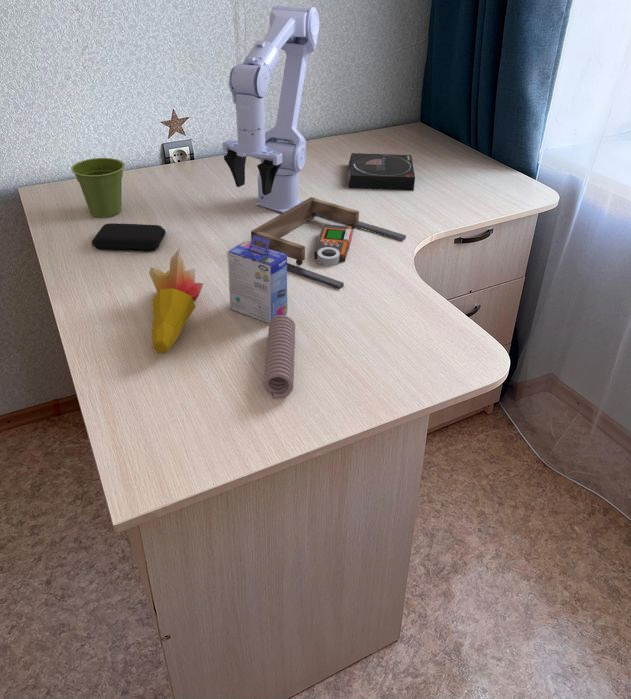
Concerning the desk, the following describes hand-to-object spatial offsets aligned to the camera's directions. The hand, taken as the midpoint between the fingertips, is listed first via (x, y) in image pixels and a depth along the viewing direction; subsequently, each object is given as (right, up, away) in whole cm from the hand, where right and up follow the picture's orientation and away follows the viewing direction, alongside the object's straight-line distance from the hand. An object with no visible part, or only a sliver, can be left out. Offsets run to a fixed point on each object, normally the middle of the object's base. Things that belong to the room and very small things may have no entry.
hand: (253, 189), depth 145 cm
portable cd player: (+31, +11, +35) cm, 48 cm away
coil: (+8, -38, -33) cm, 51 cm away
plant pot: (-37, -2, +14) cm, 39 cm away
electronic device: (+17, -14, 0) cm, 22 cm away
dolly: (+11, -10, +4) cm, 16 cm away
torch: (-13, -30, -23) cm, 40 cm away
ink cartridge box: (+3, -28, -20) cm, 34 cm away
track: (+15, -12, +2) cm, 19 cm away
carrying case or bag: (-27, -11, +3) cm, 30 cm away
